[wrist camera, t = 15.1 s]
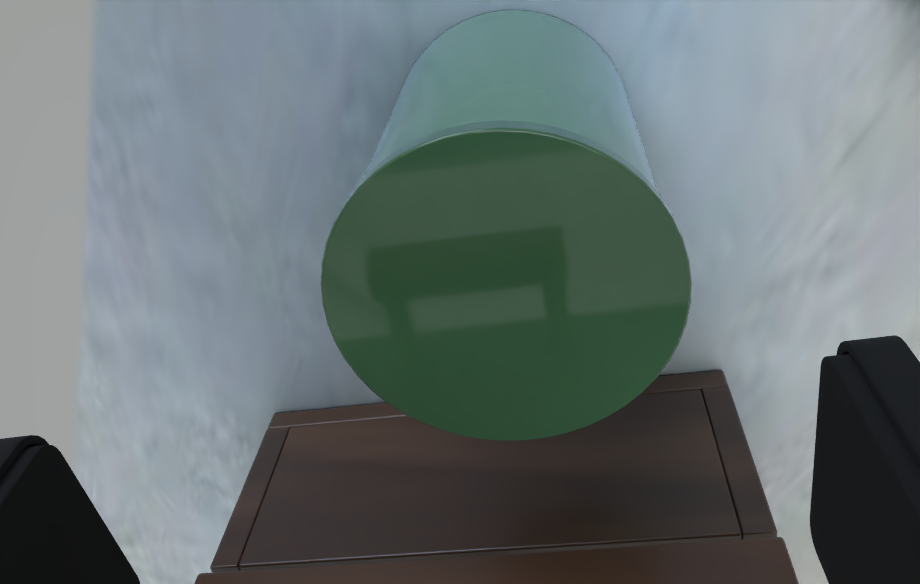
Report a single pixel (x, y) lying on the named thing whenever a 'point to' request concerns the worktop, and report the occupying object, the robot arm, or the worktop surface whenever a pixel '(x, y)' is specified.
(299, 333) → the worktop surface
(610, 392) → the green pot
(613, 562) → the lid
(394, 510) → the chest
